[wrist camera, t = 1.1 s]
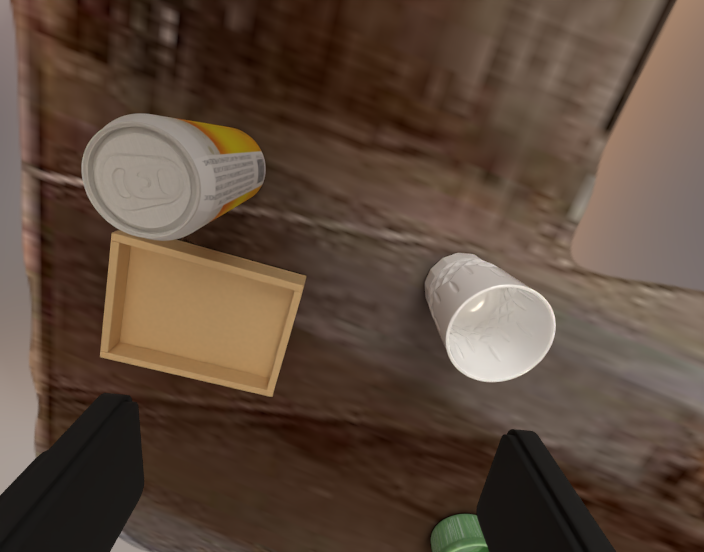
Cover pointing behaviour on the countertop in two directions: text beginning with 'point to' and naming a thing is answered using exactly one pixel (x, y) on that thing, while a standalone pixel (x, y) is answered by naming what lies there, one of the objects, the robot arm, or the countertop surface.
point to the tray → (198, 312)
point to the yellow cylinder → (169, 174)
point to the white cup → (488, 318)
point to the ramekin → (458, 535)
